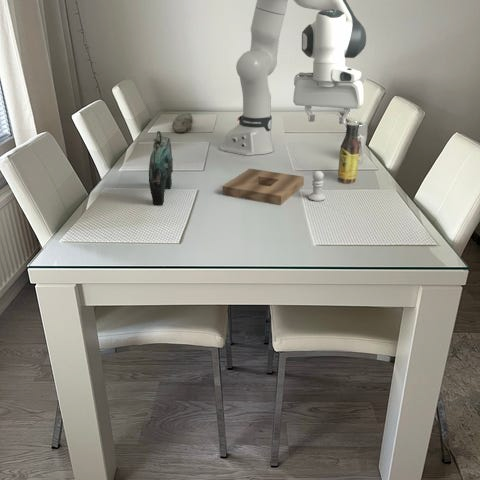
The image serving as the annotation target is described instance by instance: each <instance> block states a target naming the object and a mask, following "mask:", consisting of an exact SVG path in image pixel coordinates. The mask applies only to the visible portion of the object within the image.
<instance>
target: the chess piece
mask: <svg viewBox="0 0 480 480" xmlns="http://www.w3.org/2000/svg"><path fill="white" fill-rule="evenodd" d="M324 176H325V174H324V173H323V172H322V170H316V171H314V172H313V173H312V179H313V180H312V186H313V187H312V193H310V194H308V199H309V200H310V201H312V200H314V201H313V202H322V200H323V201H324V199H326V195H325V194H324V193H323V186H324V180H323V179H324Z"/></svg>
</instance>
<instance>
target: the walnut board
mask: <svg viewBox="0 0 480 480" xmlns="http://www.w3.org/2000/svg"><path fill="white" fill-rule="evenodd" d="M304 179H305V175H304V176H303V175H297V174H290V173H282V172H275V171H269V170H263V169H254V168H248V169H247V170H244V171H243V172H242V173H241V174H239V175H237V176H236V177H234V178H233V179H231V180H229V181H228V182H227V183H225V184H223V185H222V190H221V193H222V196H225V197H226V196H227V197H232V198H238V199H244V200H249V201H254V202H261V203H266V204H267V203H268V204H272V205H278V206H282V205H283V204H284V203H285V202H286V201H288V199H289V198H291V197H292V196H293V195H294V194H295V193H296V192H298V191H299V190H300V189H301V188H302V187H303V186H304Z"/></svg>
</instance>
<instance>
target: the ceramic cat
mask: <svg viewBox="0 0 480 480" xmlns="http://www.w3.org/2000/svg"><path fill="white" fill-rule="evenodd" d="M173 160H174V159H173V155H172V144H171V139H170V137H168V136H167V137H166V136H162V132H161V131H160V130H157V132H156V137H155V138H153V150H152V152H151V154H150V158H149V164H148V183H149V189H150V195H151V198H152V204H153V206H161V205H162V206H163V205H164V204H163V203H165V192H166V190H171V187H172V186H173V185H172V184H173V179H172V175H173V174H172V173H173V172H174V170H173V169H174V167H173V166H174V163H173Z"/></svg>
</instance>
